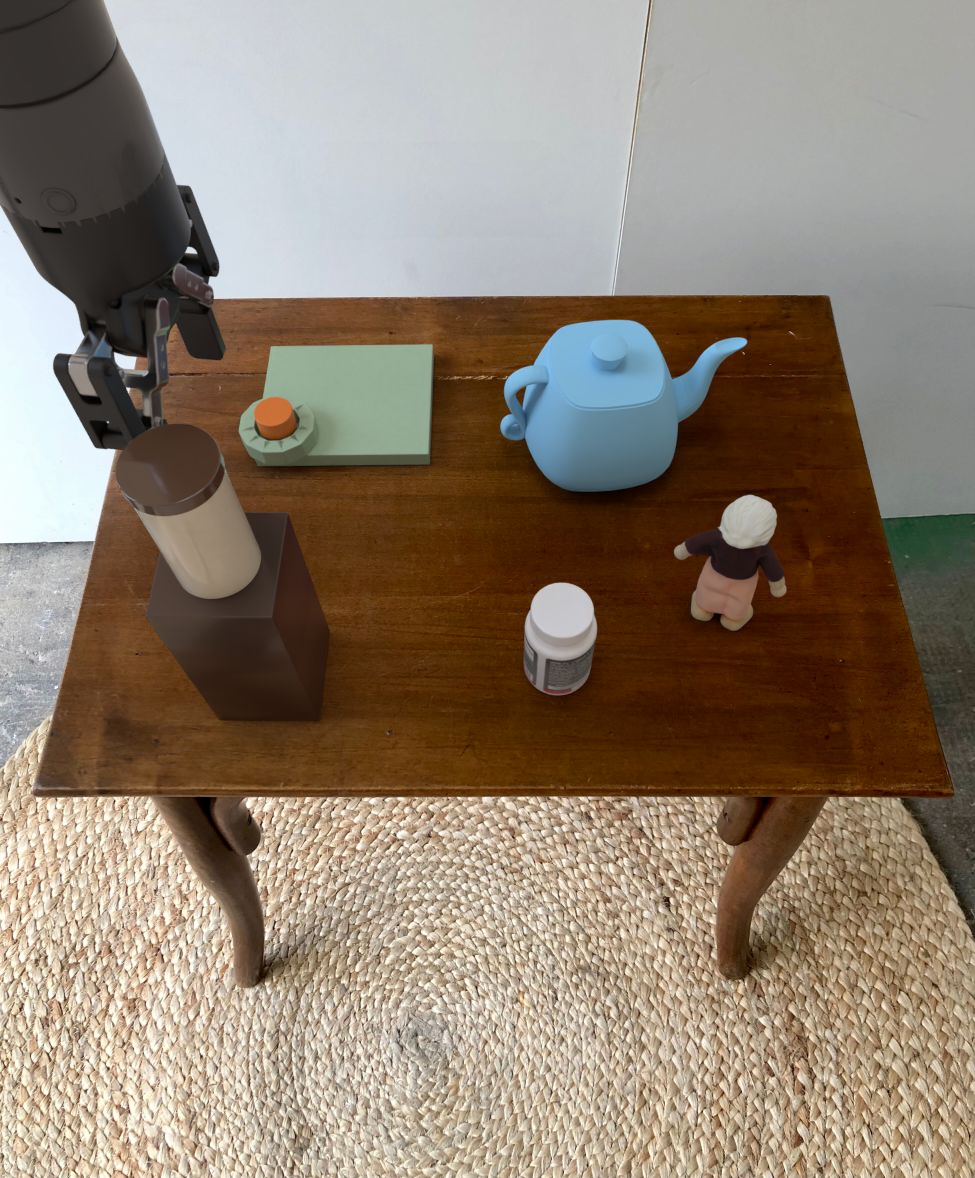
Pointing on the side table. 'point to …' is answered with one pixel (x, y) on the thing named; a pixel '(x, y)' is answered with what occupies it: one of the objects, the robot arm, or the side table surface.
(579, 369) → the teapot
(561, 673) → the pill bottle
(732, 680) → the side table surface
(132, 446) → the spice jar
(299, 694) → the stand
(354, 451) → the scale
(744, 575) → the grandmother figurine
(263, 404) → the tare button
